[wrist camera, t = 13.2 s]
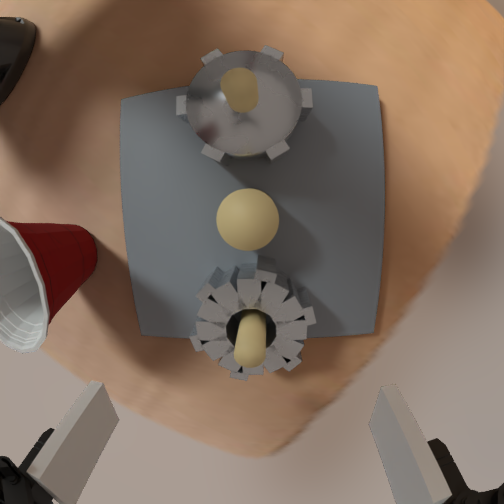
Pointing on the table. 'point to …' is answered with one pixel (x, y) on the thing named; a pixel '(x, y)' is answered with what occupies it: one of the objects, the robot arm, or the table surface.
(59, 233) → the plastic cup
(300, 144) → the plate
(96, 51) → the table surface
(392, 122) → the table surface
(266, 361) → the planet gear
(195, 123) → the seated gear
